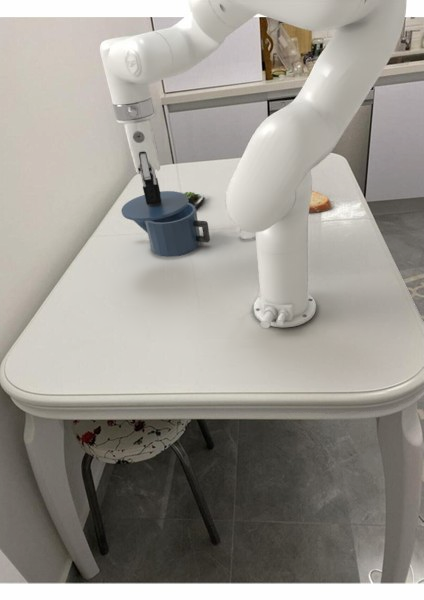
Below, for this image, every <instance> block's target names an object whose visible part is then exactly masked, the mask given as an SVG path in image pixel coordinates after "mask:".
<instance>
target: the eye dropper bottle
mask: <svg viewBox="0 0 424 600" xmlns="http://www.w3.org/2000/svg"><path fill="white" fill-rule="evenodd" d="M239 234H240V238H241V239H242V240H250V239H255V240H256V232H247V231H244V230H241V229H239Z"/></svg>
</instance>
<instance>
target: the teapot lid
mask: <svg viewBox="0 0 424 600" xmlns="http://www.w3.org/2000/svg"><path fill="white" fill-rule="evenodd" d="M156 178H157V175H156V176H155V179H156ZM157 180H158V178H157V179H156V184H157ZM180 192H181V191H173V190H163V191H160V194H161V196H160V197H161V203H156V204H151V205H147V203H146V199H145V195H144V194H142V195H139V196H137V197H135V198H132V199H131V200H128V201H127V202H126V203H124V205H122V208H121V215H122V217H124V218H125V219H127V220H130V221H133V220H134V221H150V220H157V219H161V218H165V217H168V216H171V215H174V214H176V213H178V212H180V211H181V210H183V209H184V208H185V207H186V206H187V205H188V197H187V196H186V195H185V194H183V193H180ZM134 221H133V222H134Z"/></svg>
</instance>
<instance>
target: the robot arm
mask: <svg viewBox="0 0 424 600" xmlns="http://www.w3.org/2000/svg"><path fill="white" fill-rule="evenodd" d="M188 5H189V9H190V11H189V12H188V13H187V14H186V15H185V16H183V18H181V19H180V20H179V21H177V22H176V23H175V24H173V25H172V26H170V27H168V28H167V27H166V28H160V29H157V30H151V31H147V32H143V33H140V34H135V35H126V36H119V37H114V38H113V37H112V38H108V39H105V40H103V41H102V42H101V43H100V45H99V54H100V57H101V63H102V66H103V71H104V74H105V79H106V82H107V87H108V91H109V95H110V98H111V103H112V107H113V111H114V115H115V120H116V123H118V124H123V127H124V131H125V135H126V139H127V143H128V148H129V150H130V154H131V158H132V163H133V165H134V169H135V172H136V173H137V174H138V175H140V177H141V182H142V191H143V195H145V199H146V203H147V205H151V204H156V203H161V197H160V196H161V194H160V192H161V189H160V184H159V180H158V177H157V175H156V170H157V172H158V171H160V170H161V162H160V157H159V152H158V148H157V147H158V146H157V142H156V137H155V132H154V128H153V125H152V119H153V118H154V117H155V116H156V114H155V109H154V104H153V99H152V94H151V89H150V88H151V87H150V84H154V83H158V82H160V81H163V80H165V79H166V80H167V79H168V78H173V77H176V76H178V75H182V74H184V73H186V72H189V70H191V69H192V68H194V67H196V66H197V65H198V64H199V63H201V62H203V61H204V60H205V59H207V58H208V57H209V56H211V55H212V54H213V53H214V52H216V51H217V50H218V49H219V48H220V46H221V45H222V44H223V43H224V42H225V40H226V39H227V37H229V36H230V35H231V34H232V33H234V32H235V31H236V30H238V29H239V28H240V27H242V26H243V25H244V24H246V23H247V22H249V21H250V20H251V19H253V18H254V17H256V16H257V15H261V16H263V17H266V18H269V19H272V20H275V21H278V22H280V23H284V24H287V25H290V26H293V27H296V28H299V29H303V30H306V31H311V32H329V31H333V30H334V32H333V35H332V36H331V38H330V39H329V41H328V42H327V44H326V46H325V47H324V48H323V50H321V53H320V54H319V56H318V58H317V59H316V61H315V62H314V64H313V67H312V69H311V71H310V72H309V75H308V77H307V79H306V81H305V82H304V84H303V85H302V87H301V89H300V91H299V92H298V94H297V95H296V97H295V98H294V99H293V100H292V101H291V102H289V103H288V104H287V105H285V106H284V107H282V108H280V109H278V110H277V111H275V112H273V113H272V114H270V115H268V116H267V117H266V118H265V119H264V120H263V121H262V122H261V123H260V124H259V126H258V127H257V128H256V129H255V131H254V132H253V133H252V136H251V137H250V140H248V141H249V142H248V144H247V145H246V147H245V149H244V152H243V154H242V156H241V158H240V160H239V162H238V164H237V166H236V168H235V170H234V172H233V174H232V177H231V179H230V181H229V183H228V186H227V189H226V193H225V199H224V201H225V209H226V214H227V216H228V218H229V220H230V221H231V223H232V224H233V225H234V226H235V227H237V228H238V229H239V230H240V229H241V230H244V231H247V232H256V239H255V245H256V247H255V248H256V259H257V272H258V273H257V274H258V284H259V296H258V297H257V298H256V299H255V300H254V303H253V313H254V316H255V318H256V319H257V320H259V321H260V322H259V325H260V327H261V328H263V329H265V330H266V329H269V328H270V327H275V328H292V327H293V328H294V327H296V326H301V325H303V324H305V323H307V322H308V321H310V320H311V319H312V318H313V317H314V316H315V314H316V311H317V303H316V301H315V298H314V297H313V296H312V295H311V294H310V293H309V218H310V217H309V215H310V213H309V208H310V201H311V194H312V191H313V175H312V172H311V171H312V170H313V169H315V167H317V166H318V165H319V164H320V163H322V162H323V161H324V160H325V159H326V158H327V157H328V156H329V155H331V153H332V152H333V151H334V150H335V148H336V146H337V144H338V143H339V141H340V139H341V137H342V136H343V134H344V133H345V131H346V130H347V128H348V127H349V125H350V123H351V122H352V120H353V118H354V117H355V116H356V114H357V112H358V111H359V109H360V108H361V106H362V104H364V101H365V100H366V98H367V96H368V95H369V94H370V92H371V90H372V88H373V87H374V85H375V84H376V83H377V81H378V79H379V78H380V76H381V74H382V72H383V71H384V69H385V68H386V66H387V65H388V63H389V61H390V59H391V58H392V56H393V54H394V52H395V49H396V47H397V45H398V42H399V40H400V39H401V35H402V31H403V29H404V24H405V20H406V14H407V0H188ZM155 176H156V179H157V184H156V179H155Z"/></svg>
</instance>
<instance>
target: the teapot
mask: <svg viewBox="0 0 424 600" xmlns="http://www.w3.org/2000/svg"><path fill="white" fill-rule="evenodd" d="M195 220H198V214H197V209H196V208H195V206H194V205H192V204H191V203H188V205H187V206H186V207H185V208H184V209H183V210H181V211H180V212H178V213H176V214H174V215H171V216H168V217H165V218H161V219H157V220H150V221H145V224H146V228H147V232H146V234H147V236H148V241H149V246H150V249H151V252H152V254H155V255H157V256H159V257H164V258H173V257H179V256H184V255H187V254H190V253H192V252H194V251H195V250H196V249H197V248H199V247H200V245H201V243H202V242H197V241H196V237H197V236H201V234H200V233H201V232H200V227H195V226H194V221H195Z"/></svg>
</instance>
